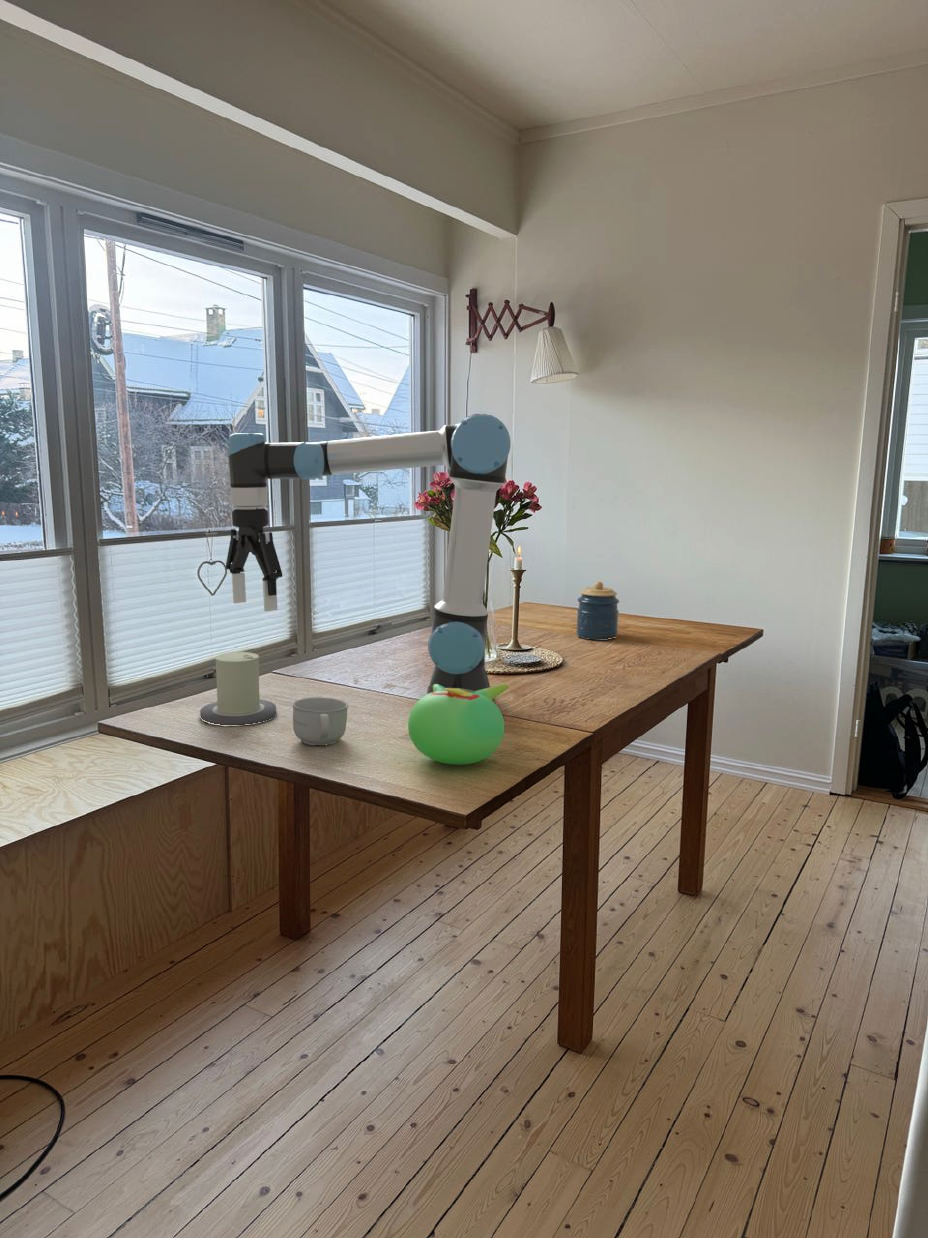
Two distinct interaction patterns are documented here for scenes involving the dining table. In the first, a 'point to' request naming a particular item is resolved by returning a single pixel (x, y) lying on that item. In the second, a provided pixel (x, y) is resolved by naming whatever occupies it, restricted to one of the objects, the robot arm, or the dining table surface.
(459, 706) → the green round lump
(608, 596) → the canister
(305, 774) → the dining table surface
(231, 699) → the can
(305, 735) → the teacup
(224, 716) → the pad
